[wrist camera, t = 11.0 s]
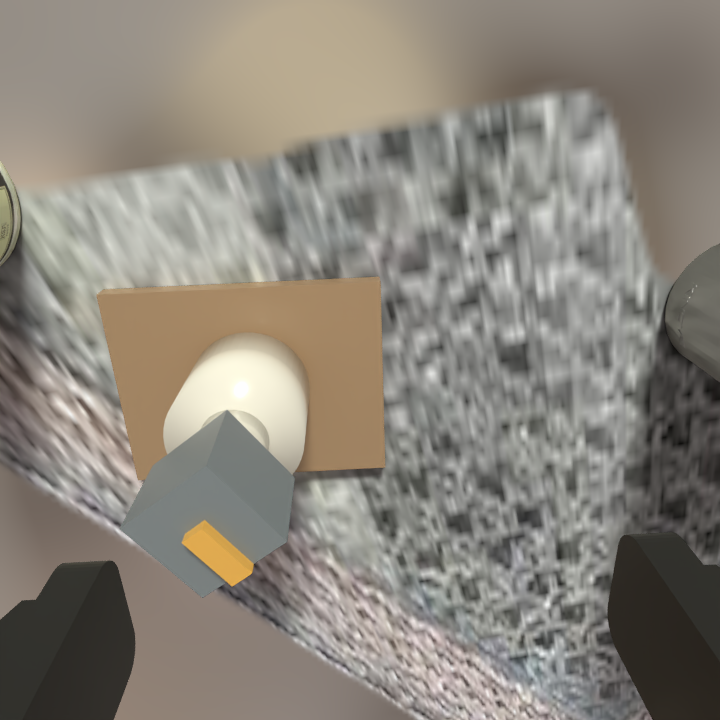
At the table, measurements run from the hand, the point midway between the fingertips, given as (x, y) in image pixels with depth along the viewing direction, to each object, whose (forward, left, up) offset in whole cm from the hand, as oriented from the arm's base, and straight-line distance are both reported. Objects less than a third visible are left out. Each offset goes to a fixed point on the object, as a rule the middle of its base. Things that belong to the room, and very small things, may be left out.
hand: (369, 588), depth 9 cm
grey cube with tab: (+7, +10, -19) cm, 22 cm away
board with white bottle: (+7, +10, -30) cm, 32 cm away
